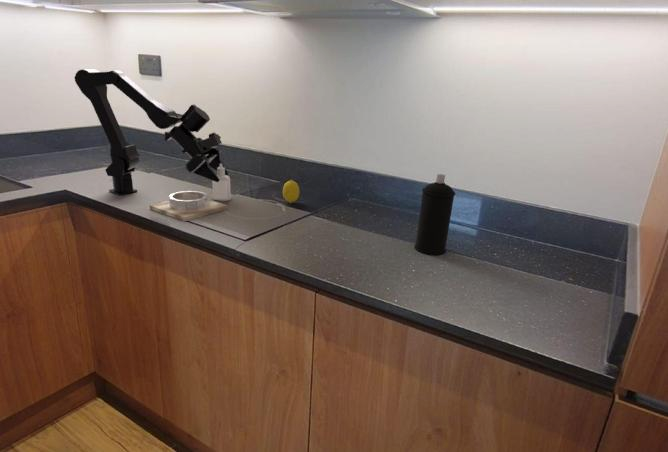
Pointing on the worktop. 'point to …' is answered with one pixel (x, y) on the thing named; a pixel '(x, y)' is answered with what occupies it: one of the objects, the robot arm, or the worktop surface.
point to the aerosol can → (434, 217)
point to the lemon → (291, 191)
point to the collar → (188, 200)
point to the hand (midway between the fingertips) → (223, 177)
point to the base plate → (188, 215)
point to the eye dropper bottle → (221, 185)
